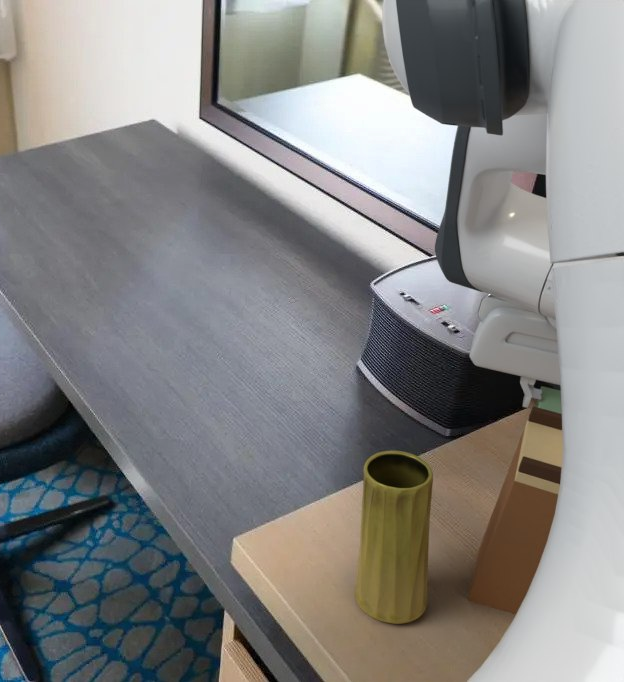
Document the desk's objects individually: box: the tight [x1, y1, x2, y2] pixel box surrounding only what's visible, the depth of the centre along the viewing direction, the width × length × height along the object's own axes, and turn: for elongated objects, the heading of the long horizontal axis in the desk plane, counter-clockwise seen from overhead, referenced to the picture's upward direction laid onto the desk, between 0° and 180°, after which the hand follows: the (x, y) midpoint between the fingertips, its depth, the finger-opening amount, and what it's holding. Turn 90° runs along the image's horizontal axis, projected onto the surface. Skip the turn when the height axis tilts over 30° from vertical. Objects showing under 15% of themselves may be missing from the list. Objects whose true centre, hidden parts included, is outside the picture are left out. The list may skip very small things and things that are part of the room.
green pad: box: [538, 385, 562, 414], centre depth 85 cm, size 4×4×3 cm
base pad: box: [467, 406, 563, 615], centre depth 65 cm, size 7×5×18 cm
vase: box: [353, 450, 434, 625], centre depth 66 cm, size 6×6×14 cm
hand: (556, 411), depth 85 cm, fingers closed on green pad, 4 cm apart
